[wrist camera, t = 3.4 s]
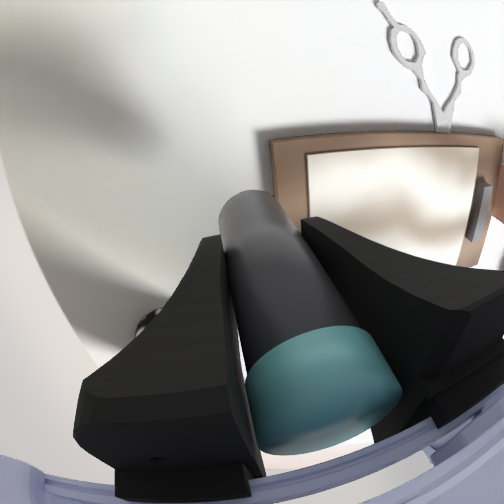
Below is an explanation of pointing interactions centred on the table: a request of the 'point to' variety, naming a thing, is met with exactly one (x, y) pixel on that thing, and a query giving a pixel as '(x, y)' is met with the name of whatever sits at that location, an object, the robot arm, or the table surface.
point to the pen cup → (499, 197)
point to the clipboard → (394, 187)
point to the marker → (298, 336)
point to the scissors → (440, 116)
